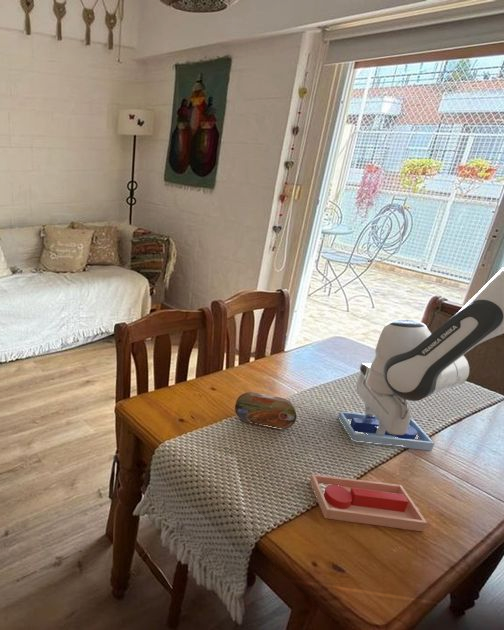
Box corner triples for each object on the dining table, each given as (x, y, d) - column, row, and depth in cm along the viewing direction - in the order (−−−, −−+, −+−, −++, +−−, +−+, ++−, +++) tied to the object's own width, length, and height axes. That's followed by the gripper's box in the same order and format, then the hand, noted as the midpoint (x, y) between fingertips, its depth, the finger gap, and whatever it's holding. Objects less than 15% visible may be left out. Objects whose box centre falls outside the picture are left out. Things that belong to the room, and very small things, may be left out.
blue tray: (410, 426, 117) (412, 418, 116) (431, 450, 108) (434, 443, 107) (337, 418, 120) (339, 411, 119) (352, 442, 111) (354, 434, 110)
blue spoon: (354, 434, 113) (357, 425, 112) (347, 423, 117) (350, 414, 116) (419, 441, 110) (422, 432, 109) (409, 429, 115) (412, 420, 114)
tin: (232, 419, 119) (237, 393, 116) (233, 413, 122) (238, 387, 118) (293, 433, 114) (299, 406, 110) (292, 426, 116) (299, 399, 113)
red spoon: (396, 499, 93) (400, 489, 92) (408, 518, 88) (412, 507, 87) (320, 489, 95) (323, 479, 94) (328, 507, 90) (331, 496, 89)
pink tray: (398, 493, 95) (401, 484, 94) (423, 531, 86) (427, 523, 85) (309, 481, 98) (311, 473, 97) (324, 518, 88) (327, 509, 87)
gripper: (425, 405, 99) (407, 455, 104) (383, 363, 117) (370, 406, 122) (394, 402, 99) (378, 451, 105) (358, 360, 118) (345, 404, 123)
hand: (373, 427), depth 114 cm, fingers open, 5 cm apart
